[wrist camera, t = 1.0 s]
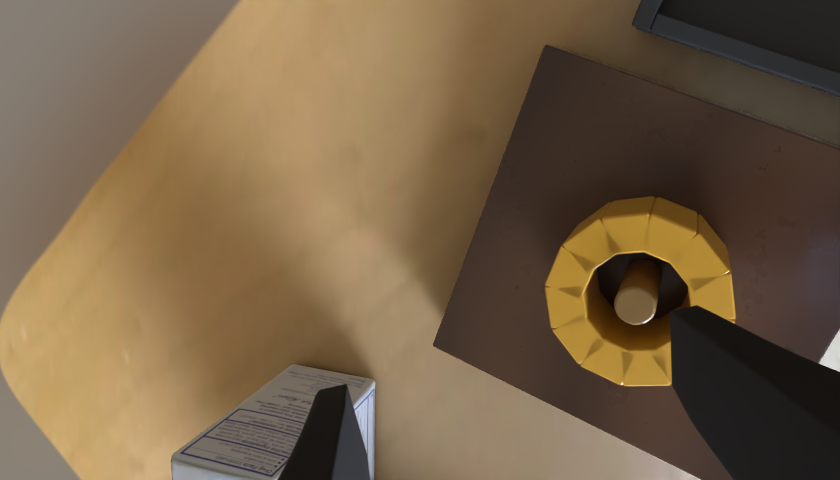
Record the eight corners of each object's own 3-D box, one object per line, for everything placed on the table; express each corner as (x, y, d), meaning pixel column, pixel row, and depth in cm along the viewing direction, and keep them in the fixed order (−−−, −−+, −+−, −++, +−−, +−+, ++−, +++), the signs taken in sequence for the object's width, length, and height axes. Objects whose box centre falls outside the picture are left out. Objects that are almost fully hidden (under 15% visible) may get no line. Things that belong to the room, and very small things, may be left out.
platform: (910, 171, 22) (971, 200, 17) (735, 468, 26) (743, 561, 21) (556, 45, 25) (520, 39, 20) (448, 329, 29) (397, 381, 24)
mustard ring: (760, 236, 22) (768, 260, 19) (686, 377, 24) (684, 416, 21) (599, 172, 23) (586, 185, 21) (540, 310, 25) (521, 338, 23)
